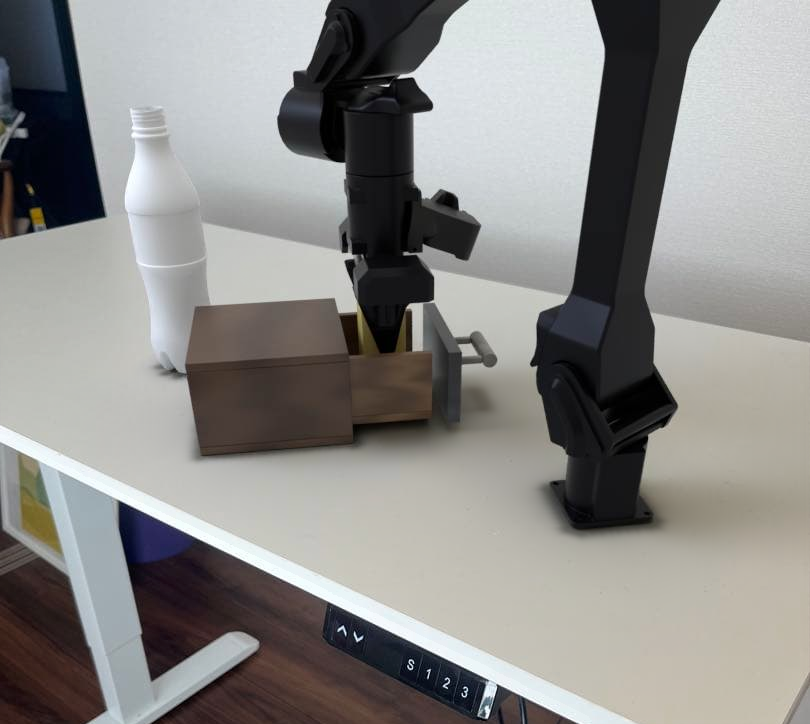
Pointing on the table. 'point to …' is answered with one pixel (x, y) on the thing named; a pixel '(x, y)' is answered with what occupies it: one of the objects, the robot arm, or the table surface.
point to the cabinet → (269, 376)
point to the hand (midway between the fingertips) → (384, 349)
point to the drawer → (411, 372)
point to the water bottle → (166, 236)
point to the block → (367, 340)
